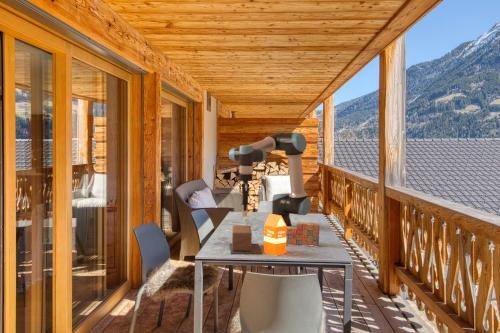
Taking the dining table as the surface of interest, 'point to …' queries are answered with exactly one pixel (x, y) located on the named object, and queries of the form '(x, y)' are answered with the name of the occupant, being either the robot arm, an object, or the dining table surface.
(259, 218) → the dining table surface
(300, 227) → the stack of blocks
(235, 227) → the wooden block
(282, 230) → the orange juice
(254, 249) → the mat
